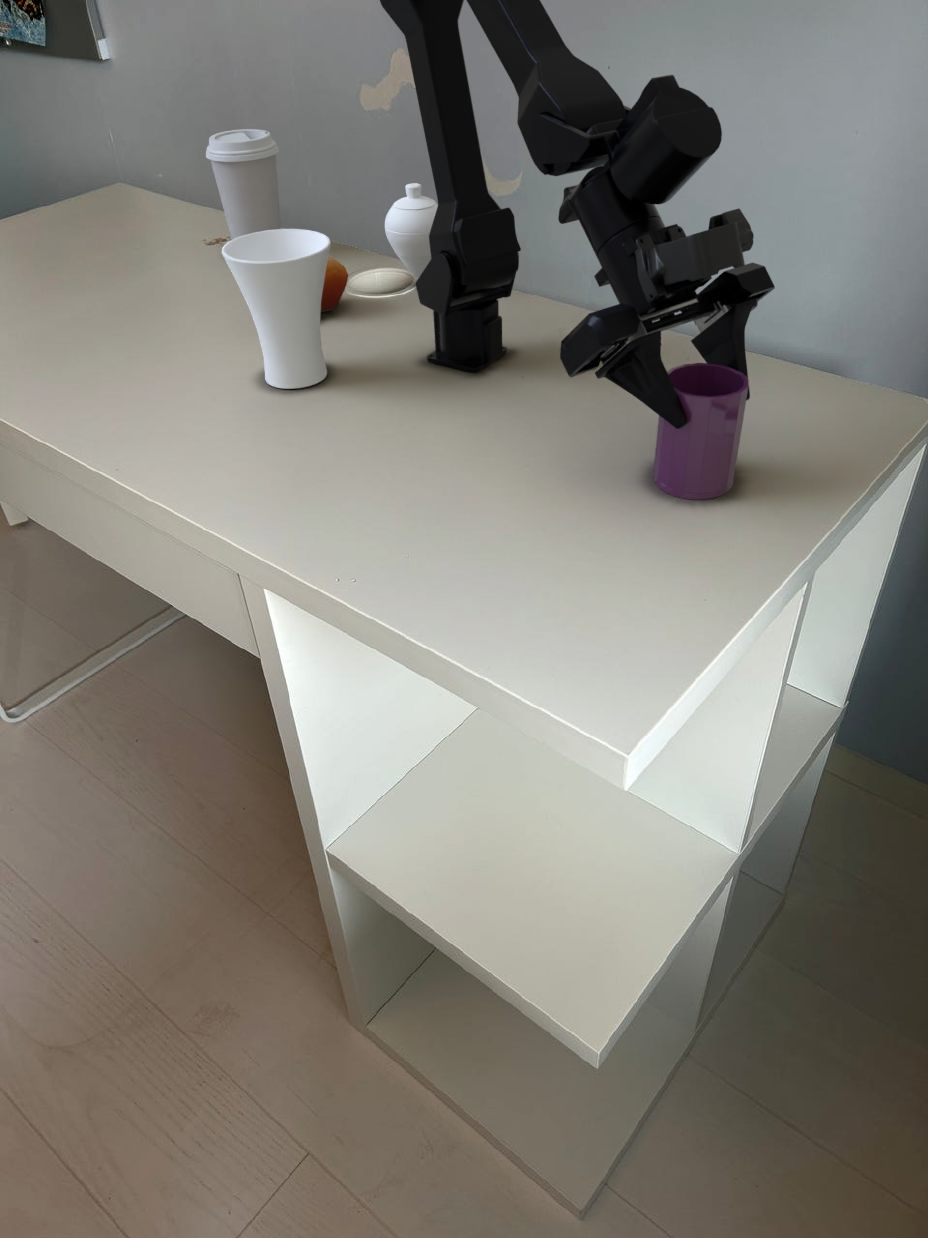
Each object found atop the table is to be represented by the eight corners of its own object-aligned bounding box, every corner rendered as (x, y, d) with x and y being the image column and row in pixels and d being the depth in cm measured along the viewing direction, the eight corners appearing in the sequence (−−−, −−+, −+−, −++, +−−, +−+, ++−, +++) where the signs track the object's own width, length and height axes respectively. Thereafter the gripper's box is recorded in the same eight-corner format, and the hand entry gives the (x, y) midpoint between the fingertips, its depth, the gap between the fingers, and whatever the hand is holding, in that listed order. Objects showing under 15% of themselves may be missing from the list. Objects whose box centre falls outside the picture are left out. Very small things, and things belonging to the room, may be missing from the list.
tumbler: (649, 495, 79) (659, 394, 73) (657, 457, 84) (666, 360, 78) (731, 503, 77) (747, 401, 72) (734, 464, 82) (749, 365, 77)
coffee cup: (287, 262, 130) (269, 142, 120) (218, 264, 130) (194, 145, 121) (297, 241, 137) (281, 126, 128) (232, 243, 138) (211, 128, 128)
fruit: (260, 310, 111) (269, 240, 110) (294, 324, 119) (303, 258, 118) (321, 318, 109) (331, 246, 108) (352, 331, 116) (361, 264, 115)
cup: (355, 388, 97) (339, 253, 89) (252, 405, 95) (226, 268, 87) (336, 350, 105) (320, 223, 97) (241, 364, 103) (216, 235, 95)
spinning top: (439, 297, 117) (434, 194, 110) (381, 293, 119) (372, 191, 111) (456, 276, 123) (452, 177, 115) (400, 273, 125) (393, 175, 117)
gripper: (590, 199, 65) (690, 404, 64) (776, 154, 73) (865, 336, 72) (520, 285, 75) (606, 463, 74) (690, 237, 83) (768, 397, 82)
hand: (714, 413), depth 76 cm, fingers closed on tumbler, 7 cm apart
